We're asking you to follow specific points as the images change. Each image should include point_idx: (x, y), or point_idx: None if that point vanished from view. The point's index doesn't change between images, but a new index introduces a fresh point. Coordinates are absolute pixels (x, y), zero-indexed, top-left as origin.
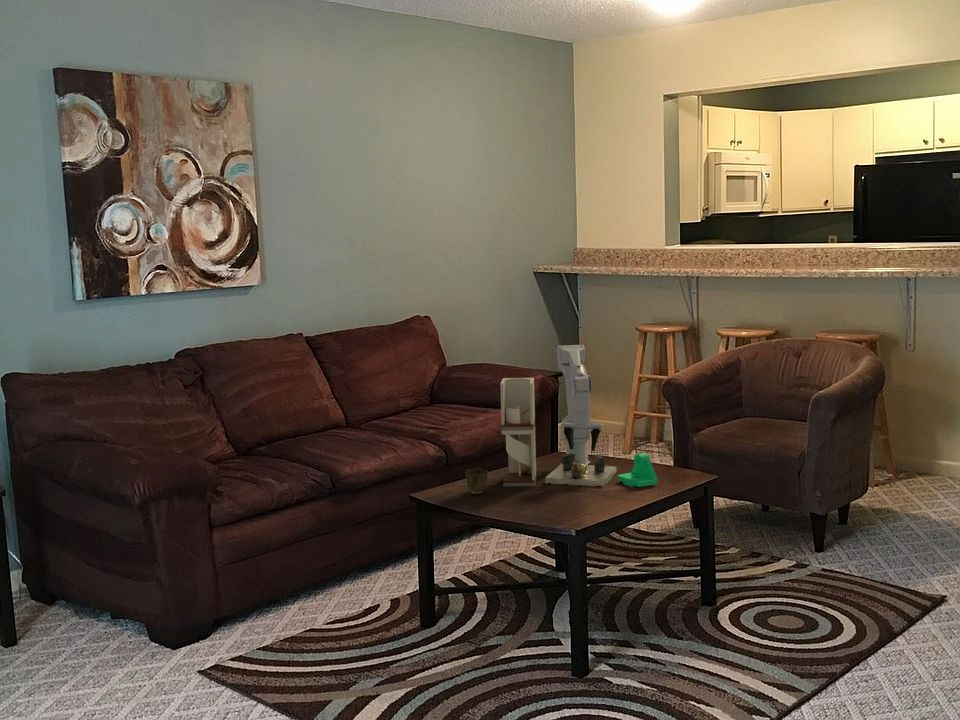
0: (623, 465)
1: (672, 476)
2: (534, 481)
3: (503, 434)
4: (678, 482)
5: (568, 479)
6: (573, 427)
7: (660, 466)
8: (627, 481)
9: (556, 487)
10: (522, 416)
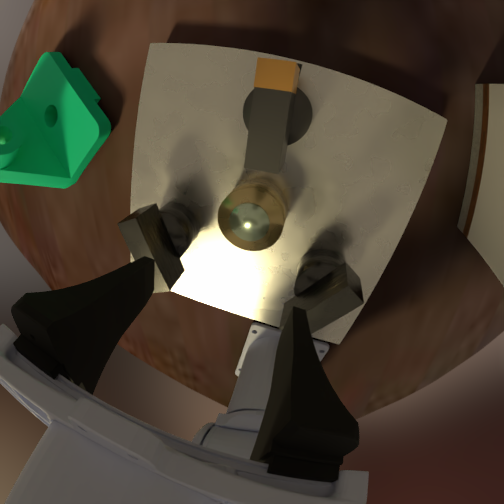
0: (143, 329)
1: (25, 207)
2: (487, 84)
3: None
4: None
5: (328, 69)
6: (237, 468)
7: None
8: (78, 84)
9: (384, 38)
10: None
